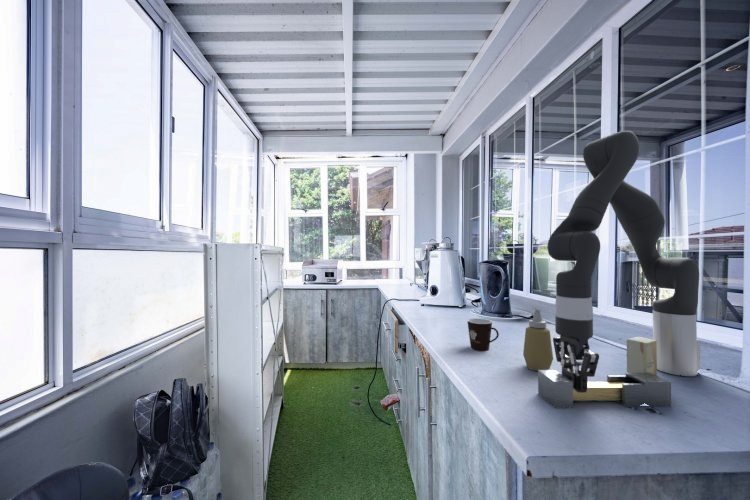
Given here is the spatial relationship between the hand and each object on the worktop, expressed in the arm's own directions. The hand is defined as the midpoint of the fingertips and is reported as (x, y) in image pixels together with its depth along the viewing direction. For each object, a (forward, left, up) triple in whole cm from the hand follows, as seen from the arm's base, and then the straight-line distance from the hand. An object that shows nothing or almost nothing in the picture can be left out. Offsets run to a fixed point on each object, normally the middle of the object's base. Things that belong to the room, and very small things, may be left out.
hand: (574, 386), depth 73 cm
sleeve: (-15, 0, -3) cm, 15 cm away
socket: (+5, 0, -3) cm, 6 cm away
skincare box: (-23, -8, -3) cm, 24 cm away
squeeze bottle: (-2, -20, -3) cm, 20 cm away
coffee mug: (+9, -38, -3) cm, 39 cm away
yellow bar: (-4, 0, -3) cm, 5 cm away
